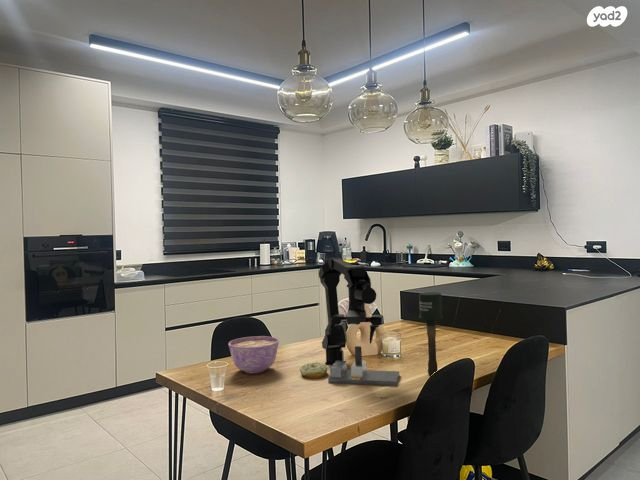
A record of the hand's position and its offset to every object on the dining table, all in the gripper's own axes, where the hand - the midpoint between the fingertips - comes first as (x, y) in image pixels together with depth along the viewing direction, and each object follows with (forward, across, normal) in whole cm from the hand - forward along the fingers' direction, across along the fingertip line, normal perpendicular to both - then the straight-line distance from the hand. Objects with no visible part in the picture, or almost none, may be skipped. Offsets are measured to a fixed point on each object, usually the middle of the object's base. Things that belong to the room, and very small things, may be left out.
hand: (358, 342), depth 174 cm
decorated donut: (+13, -18, +2) cm, 22 cm away
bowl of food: (+13, -43, +3) cm, 45 cm away
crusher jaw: (+11, 0, -1) cm, 11 cm away
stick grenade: (+13, +26, +7) cm, 30 cm away
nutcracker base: (+13, +2, -1) cm, 13 cm away
